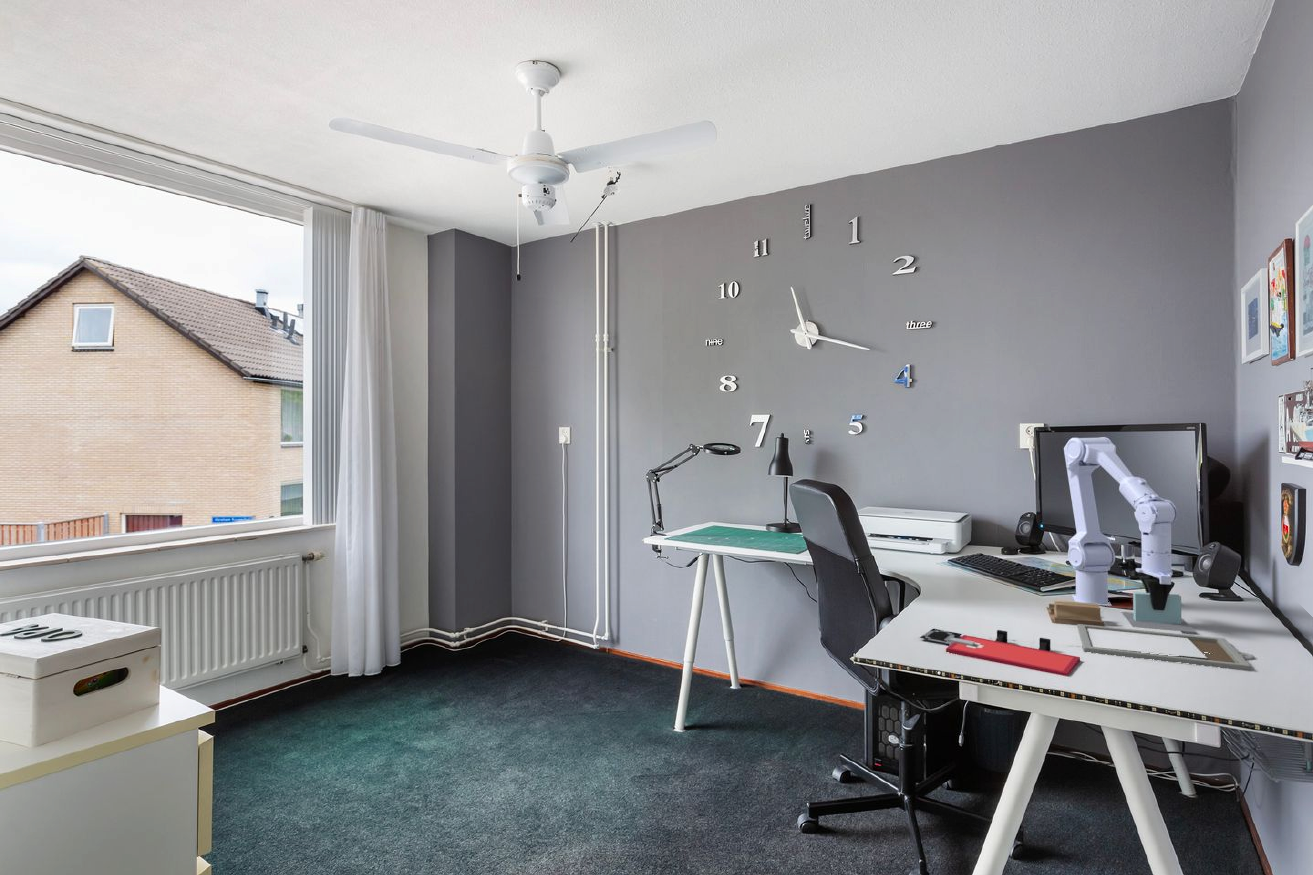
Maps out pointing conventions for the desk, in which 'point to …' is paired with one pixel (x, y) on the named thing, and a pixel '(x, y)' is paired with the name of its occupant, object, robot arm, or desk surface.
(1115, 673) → the desk surface
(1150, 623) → the mat
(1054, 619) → the rack
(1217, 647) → the grey flat rectangular frame
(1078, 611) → the offcut
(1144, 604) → the pale teal block
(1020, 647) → the red board with handle
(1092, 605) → the offcut
